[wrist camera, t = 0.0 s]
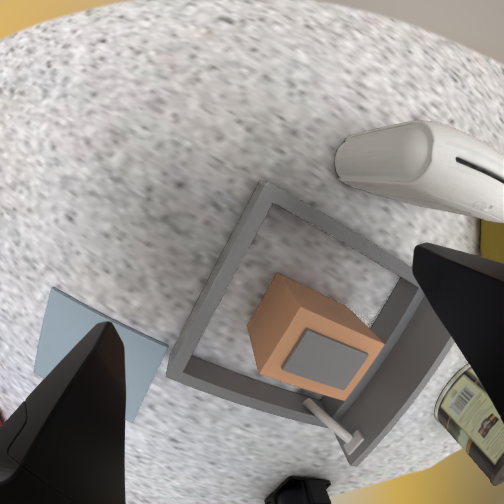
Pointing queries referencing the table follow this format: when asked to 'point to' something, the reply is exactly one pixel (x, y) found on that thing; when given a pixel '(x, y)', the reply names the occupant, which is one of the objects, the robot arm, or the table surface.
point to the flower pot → (492, 240)
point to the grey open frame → (385, 328)
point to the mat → (77, 326)
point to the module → (310, 340)
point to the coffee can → (473, 422)
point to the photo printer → (426, 168)
